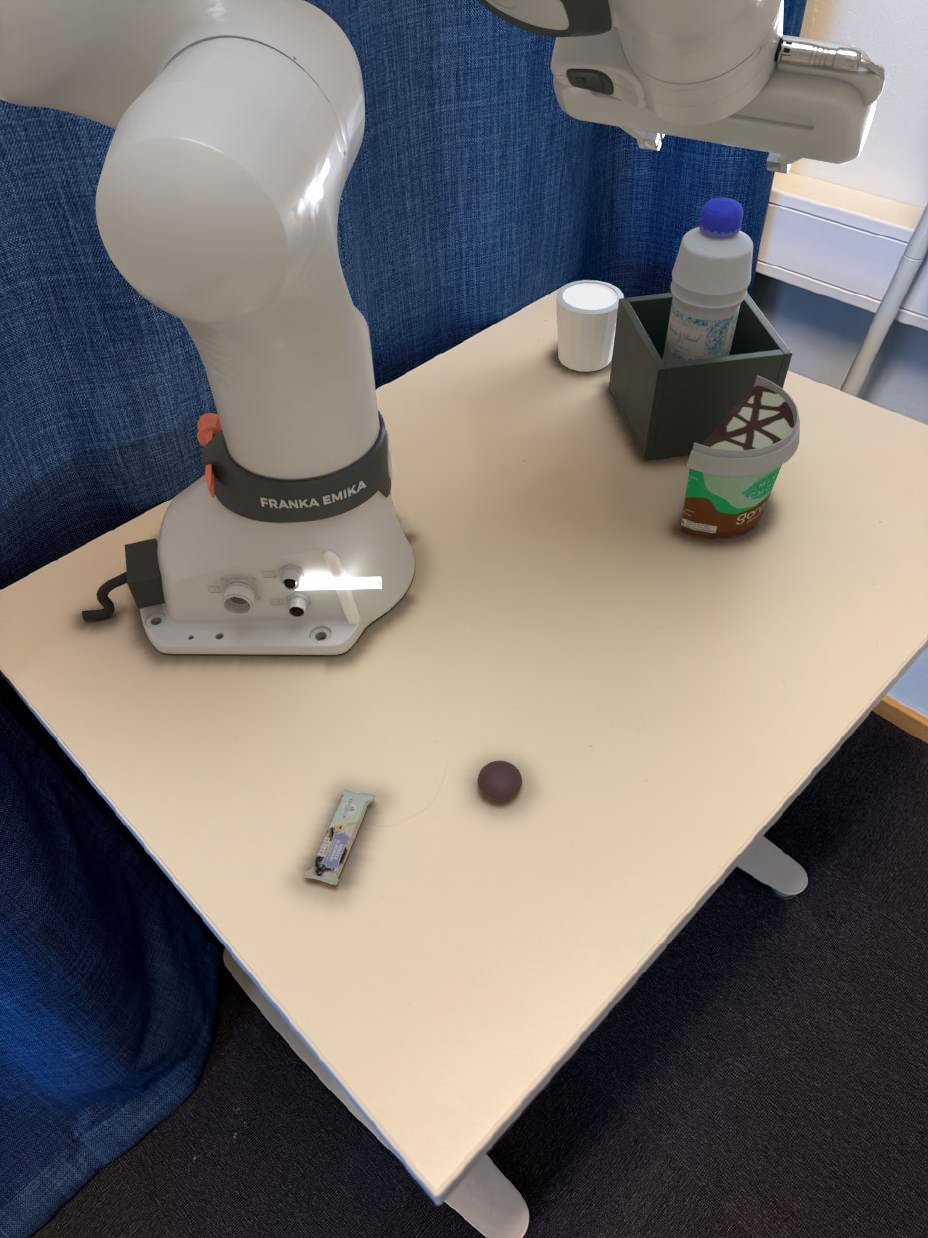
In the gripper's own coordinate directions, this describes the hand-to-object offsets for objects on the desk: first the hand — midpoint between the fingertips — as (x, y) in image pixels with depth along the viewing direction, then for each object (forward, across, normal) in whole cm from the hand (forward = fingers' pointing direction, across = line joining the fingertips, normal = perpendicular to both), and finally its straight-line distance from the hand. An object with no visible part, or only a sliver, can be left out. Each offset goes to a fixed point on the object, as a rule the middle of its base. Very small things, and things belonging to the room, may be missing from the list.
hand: (715, 150), depth 65 cm
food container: (+15, -9, +23) cm, 29 cm away
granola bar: (-14, +6, +53) cm, 55 cm away
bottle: (+23, 0, +14) cm, 27 cm away
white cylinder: (+28, +12, +11) cm, 32 cm away
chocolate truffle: (-9, -2, +47) cm, 48 cm away
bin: (+24, -1, +14) cm, 28 cm away
